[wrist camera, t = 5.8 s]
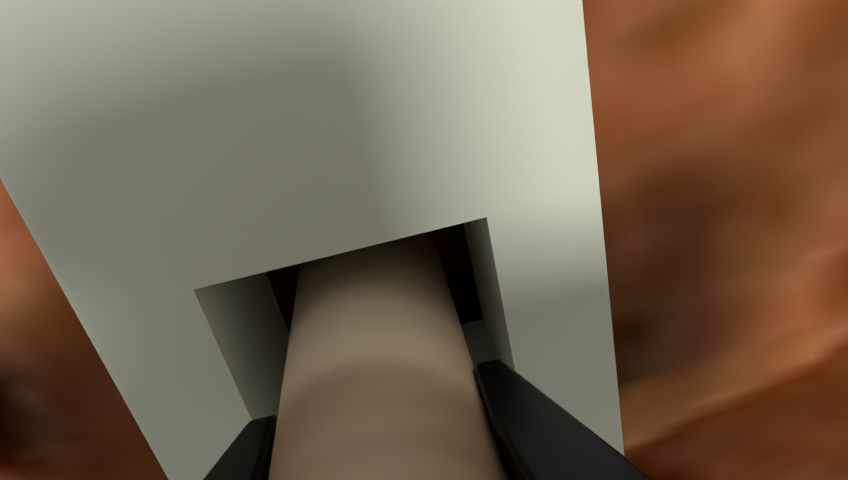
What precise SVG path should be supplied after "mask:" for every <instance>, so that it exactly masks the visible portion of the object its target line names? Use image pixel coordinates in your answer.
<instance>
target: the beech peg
mask: <svg viewBox="0 0 848 480" xmlns="http://www.w3.org/2000/svg"><path fill="white" fill-rule="evenodd" d="M268 480H508V477H507V474H506V470H505V467H504V464H503V461H502V457H501V454H500V451H499V449H498V446H497V443H496V440H495V437H494V435H493V432H492V429H491V425H490V422H489V419H488V415H487V412H486V409H485V406H484V402H483V399H482V396H481V393H480V389H479V386H478V383H477V380H476V376H475V373H474V367H473V363H472V360H471V357H470V354H469V350H468V347H467V344H466V341H465V337H464V334H463V331H462V328H461V325H460V321H459V318H458V315H457V312H456V308H455V305H454V302H453V299H452V295H451V292H450V289H449V286H448V282H447V279H446V276H445V273H444V269H443V266H442V263H441V260H440V257H439V253H438V251H437V249H436V247H435V245H434V244H433V242H432V241H431V239H430V238H429V237H428V236H427V235H426V234H425V233H421V234H417V235H412V236H408V237H404V238H400V239H396V240H392V241H388V242H384V243H380V244H376V245H372V246H368V247H364V248H360V249H356V250H352V251H348V252H344V253H340V254H336V255H332V256H328V257H324V258H320V259H315V260H311V261H307V262H303V263H300V269H299V275H298V282H297V288H296V295H295V302H294V309H293V315H292V322H291V329H290V336H289V343H288V349H287V356H286V363H285V370H284V377H283V383H282V390H281V397H280V404H279V410H278V417H277V424H276V431H275V438H274V444H273V451H272V458H271V465H270V472H269V478H268Z"/></svg>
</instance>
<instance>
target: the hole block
mask: <svg viewBox="0 0 848 480" xmlns="http://www.w3.org/2000/svg"><path fill="white" fill-rule="evenodd" d="M0 179H1V181H2V183H3V185H4V186H5V188H6V190H7V192H8V194H9V195H10V197H11V199H12V201H13V202H14V204H15V206H16V208H17V210H18V211H19V213H20V215H21V217H22V219H23V220H24V222H25V224H26V226H27V228H28V229H29V231H30V233H31V235H32V236H33V238H34V240H35V242H36V244H37V245H38V247H39V249H40V251H41V253H42V254H43V256H44V258H45V260H46V261H47V263H48V265H49V267H50V269H51V270H52V272H53V274H54V276H55V278H56V279H57V281H58V283H59V285H60V286H61V288H62V290H63V292H64V294H65V295H66V297H67V299H68V301H69V303H70V304H71V306H72V308H73V310H74V311H75V313H76V315H77V317H78V319H79V320H80V322H81V324H82V326H83V328H84V329H85V331H86V333H87V335H88V337H89V338H90V340H91V342H92V344H93V345H94V347H95V349H96V351H97V353H98V354H99V356H100V358H101V360H102V362H103V363H104V365H105V367H106V369H107V370H108V372H109V374H110V376H111V378H112V379H113V381H114V383H115V385H116V387H117V388H118V390H119V392H120V394H121V395H122V397H123V399H124V401H125V403H126V404H127V406H128V408H129V410H130V412H131V413H132V415H133V417H134V419H135V420H136V422H137V424H138V426H139V428H140V429H141V431H142V433H143V435H144V437H145V438H146V440H147V442H148V444H149V445H150V447H151V449H152V451H153V453H154V454H155V456H156V458H157V460H158V462H159V463H160V465H161V467H162V469H163V471H164V472H165V474H166V476H167V478H168V479H169V480H203V479H204V477H205V476H206V475H207V474H208V472H209V471H210V470H211V469H212V467H213V466H214V465H215V464H216V462H217V461H218V460H219V459H220V457H221V456H222V455H223V453H224V452H225V451H226V450H227V448H228V447H229V446H230V445H231V443H232V442H233V441H234V440H235V438H236V437H237V436H238V435H239V433H240V432H241V431H242V429H243V428H244V427H245V426H246V425H247V423H248V422H250V421H251V420H254V419H258V418H262V417H266V416H270V415H275V416H278V410H279V404H280V397H281V390H282V383H283V377H284V370H285V363H286V356H287V349H288V343H289V336H290V334H289V332H288V329H287V327H286V324H285V321H284V319H283V316H282V313H281V311H280V308H279V306H278V303H277V300H276V298H275V295H274V292H273V290H272V287H271V284H270V282H269V279H268V277H267V274H266V272H267V271H271V270H275V269H279V268H283V267H287V266H291V265H295V264H299V263H303V262H307V261H311V260H315V259H320V258H324V257H328V256H332V255H336V254H340V253H344V252H348V251H352V250H356V249H360V248H364V247H368V246H372V245H376V244H380V243H384V242H388V241H392V240H396V239H400V238H404V237H408V236H412V235H417V234H421V233H425V232H429V231H433V230H437V229H441V228H445V227H449V226H453V225H457V224H461V223H463V225H464V230H465V235H466V240H467V245H468V250H469V254H470V259H471V264H472V269H473V274H474V279H475V284H476V288H477V293H478V298H479V303H480V308H481V313H482V318H483V319H481V320H477V321H473V322H469V323H465V324H461V328H462V331H463V334H464V337H465V341H466V344H467V347H468V350H469V354H470V357H471V360H472V363H473V367H474V366H475V365H476V364H478V363H482V362H486V361H490V360H494V359H500V360H502V361H503V362H504V363H506V364H507V365H508V366H510V367H511V368H512V369H513V370H515V371H516V372H517V373H519V374H520V375H521V376H522V377H524V378H525V379H526V380H528V381H529V382H530V383H531V384H533V385H534V386H535V387H537V388H538V389H539V390H540V391H542V392H543V393H544V394H545V395H547V396H548V397H549V398H551V399H552V400H553V401H554V402H556V403H557V404H558V405H560V406H561V407H562V408H563V409H565V410H566V411H567V412H569V413H570V414H571V415H572V416H574V417H575V418H576V419H578V420H579V421H580V422H581V423H583V424H584V425H585V426H586V427H588V428H589V429H590V430H592V431H593V432H594V433H595V434H597V435H598V436H599V437H601V438H602V439H603V440H604V441H606V442H607V443H608V444H610V445H611V446H612V447H613V448H615V449H616V450H617V451H618V452H620V453H621V454H622V455H624V447H623V436H622V425H621V415H620V404H619V393H618V382H617V372H616V361H615V350H614V339H613V329H612V318H611V307H610V296H609V286H608V275H607V264H606V253H605V243H604V232H603V221H602V210H601V200H600V189H599V178H598V167H597V157H596V146H595V135H594V124H593V114H592V103H591V92H590V81H589V71H588V60H587V49H586V38H585V28H584V17H583V6H582V0H0Z"/></svg>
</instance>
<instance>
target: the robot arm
mask: <svg viewBox="0 0 848 480" xmlns="http://www.w3.org/2000/svg"><path fill="white" fill-rule="evenodd" d="M474 373H475V376H476V380H477V383H478V386H479V389H480V393H481V396H482V399H483V402H484V406H485V409H486V412H487V415H488V419H489V422H490V425H491V429H492V432H493V435H494V437H495V440H496V443H497V446H498V449H499V451H500V454H501V457H502V461H503V464H504V467H505V470H506V474H507V477H508V480H654V479H653V478H652V477H651V476H649V475H648V474H647V473H645V472H644V471H643V470H642V469H640V468H639V467H638V466H636V465H635V464H634V463H633V462H631V461H630V460H629V459H627V458H626V457H625V456H624V455H622V454H621V453H620V452H618V451H617V450H616V449H615V448H613V447H612V446H611V445H610V444H608V443H607V442H606V441H604V440H603V439H602V438H601V437H599V436H598V435H597V434H595V433H594V432H593V431H592V430H590V429H589V428H588V427H586V426H585V425H584V424H583V423H581V422H580V421H579V420H578V419H576V418H575V417H574V416H572V415H571V414H570V413H569V412H567V411H566V410H565V409H563V408H562V407H561V406H560V405H558V404H557V403H556V402H554V401H553V400H552V399H551V398H549V397H548V396H547V395H545V394H544V393H543V392H542V391H540V390H539V389H538V388H537V387H535V386H534V385H533V384H531V383H530V382H529V381H528V380H526V379H525V378H524V377H522V376H521V375H520V374H519V373H517V372H516V371H515V370H513V369H512V368H511V367H510V366H508V365H507V364H506V363H504V362H503V361H502V360H500V359H494V360H490V361H486V362H482V363H478V364H476V365H475V366H474ZM277 417H278V416H275V415H270V416H266V417H262V418H258V419H254V420H251V421H250V422H248V423H247V425H246V426H245V427H244V428H243V429H242V431H241V432H240V433H239V435H238V436H237V437H236V438H235V440H234V441H233V442H232V443H231V445H230V446H229V447H228V448H227V450H226V451H225V452H224V453H223V455H222V456H221V457H220V459H219V460H218V461H217V462H216V464H215V465H214V466H213V467H212V469H211V470H210V471H209V472H208V474H207V475H206V476H205V477H204V479H203V480H268V478H269V472H270V465H271V458H272V451H273V444H274V438H275V431H276V424H277Z"/></svg>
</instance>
